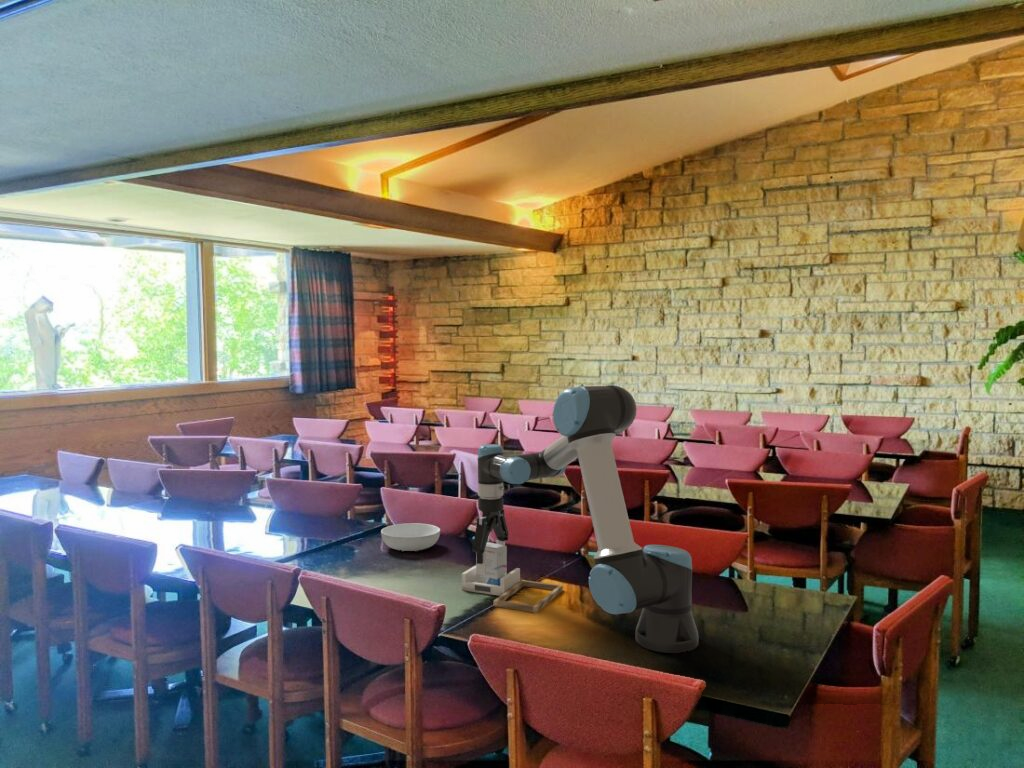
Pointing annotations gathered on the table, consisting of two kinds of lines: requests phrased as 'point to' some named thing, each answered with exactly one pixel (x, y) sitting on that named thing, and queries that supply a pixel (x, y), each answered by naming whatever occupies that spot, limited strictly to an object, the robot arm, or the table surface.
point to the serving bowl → (410, 536)
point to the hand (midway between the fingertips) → (491, 567)
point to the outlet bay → (505, 584)
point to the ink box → (494, 564)
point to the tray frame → (524, 607)
